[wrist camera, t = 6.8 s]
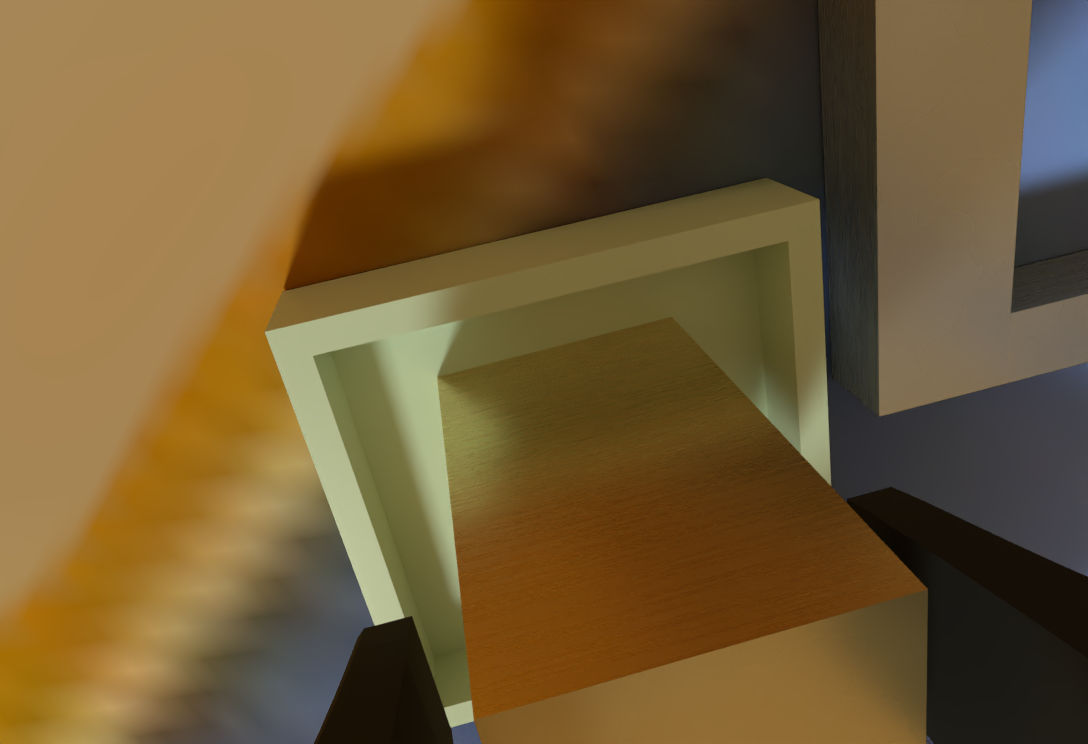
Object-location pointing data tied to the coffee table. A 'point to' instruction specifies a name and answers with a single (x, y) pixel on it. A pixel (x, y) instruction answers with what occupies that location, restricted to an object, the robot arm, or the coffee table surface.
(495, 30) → the coffee table surface
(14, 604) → the coffee table surface
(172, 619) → the coffee table surface
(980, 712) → the robot arm
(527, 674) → the upright wooden block
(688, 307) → the parts tray
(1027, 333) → the grey rectangular frame
